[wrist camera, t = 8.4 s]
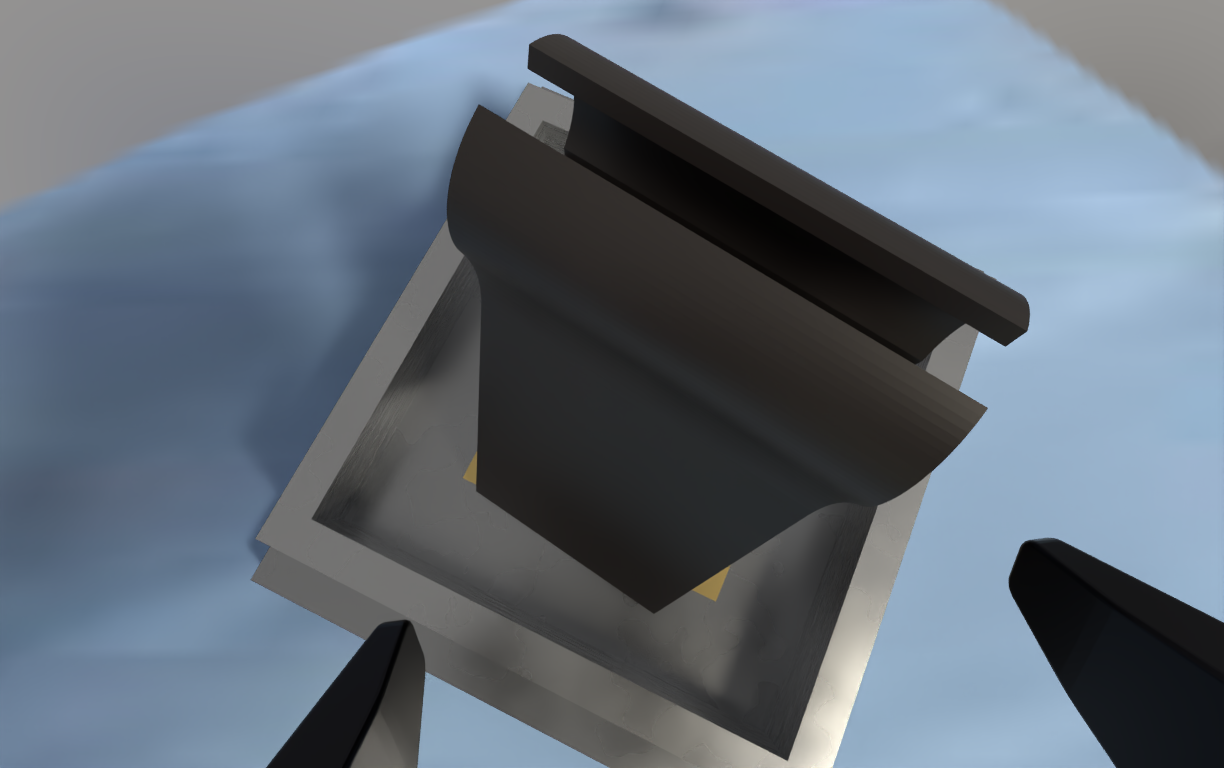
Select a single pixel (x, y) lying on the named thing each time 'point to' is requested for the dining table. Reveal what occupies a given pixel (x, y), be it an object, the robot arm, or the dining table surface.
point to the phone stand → (694, 333)
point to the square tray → (572, 563)
